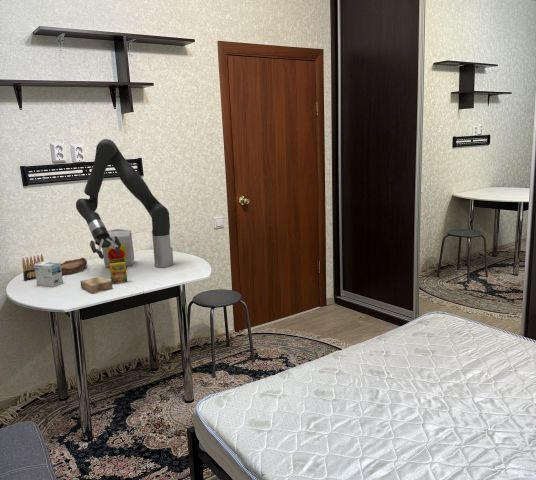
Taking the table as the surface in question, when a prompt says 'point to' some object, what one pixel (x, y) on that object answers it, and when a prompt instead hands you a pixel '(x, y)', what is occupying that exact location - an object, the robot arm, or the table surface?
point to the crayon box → (118, 271)
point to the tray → (96, 284)
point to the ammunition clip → (29, 271)
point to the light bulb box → (48, 273)
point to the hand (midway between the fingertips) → (111, 256)
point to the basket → (73, 266)
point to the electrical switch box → (125, 247)
